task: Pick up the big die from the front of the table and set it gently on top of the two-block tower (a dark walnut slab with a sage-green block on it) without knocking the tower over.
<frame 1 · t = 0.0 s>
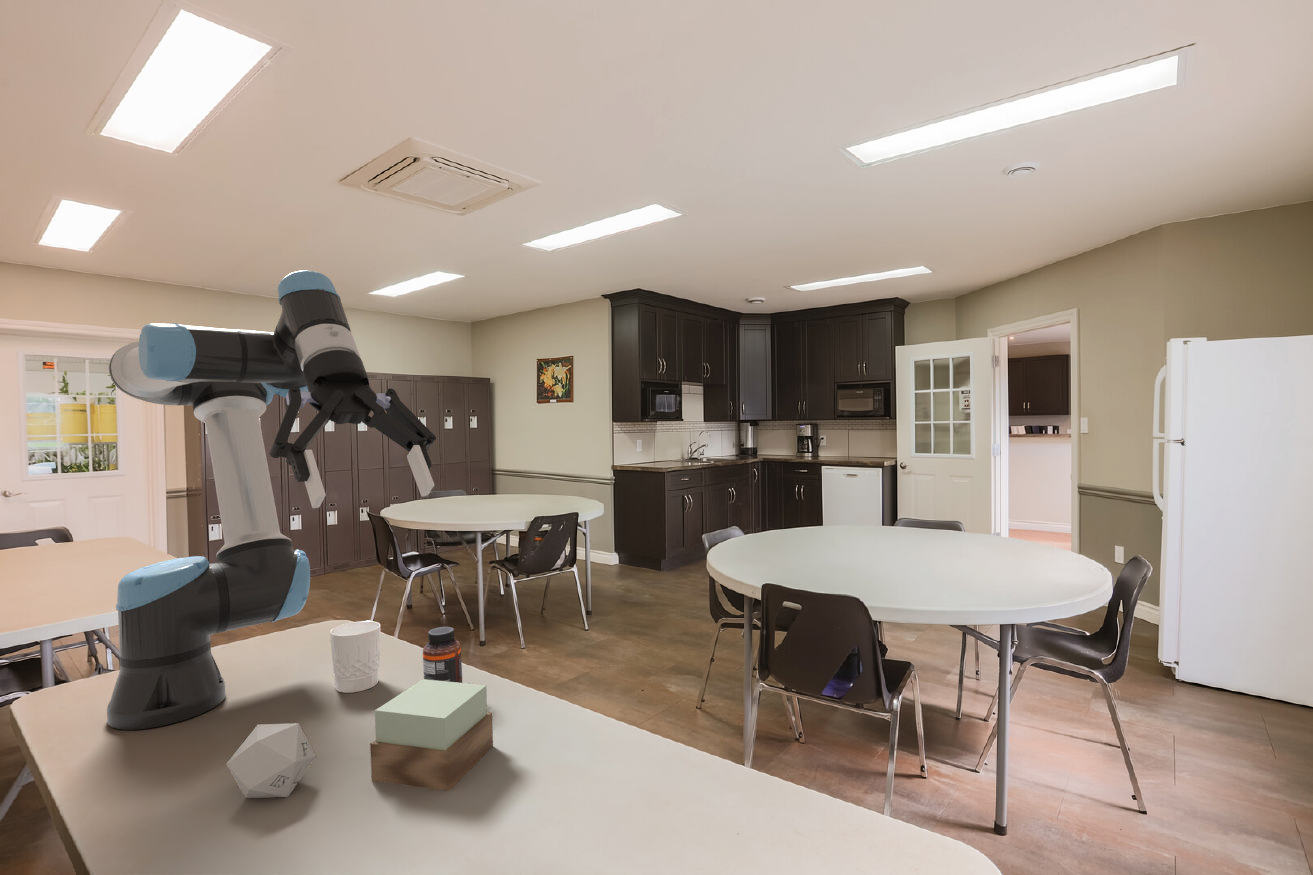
hand: (377, 496, 80), 36 cm above the table, tool tilted 35°, fingers open, 13 cm apart
white cup: (357, 686, 112), on the table
supplement bottle: (443, 699, 105), on the table
sage block: (433, 727, 85), point 5 cm above the table, touching walnut slab
walnut slab: (435, 764, 85), on the table, touching sage block
die: (273, 792, 80), on the table
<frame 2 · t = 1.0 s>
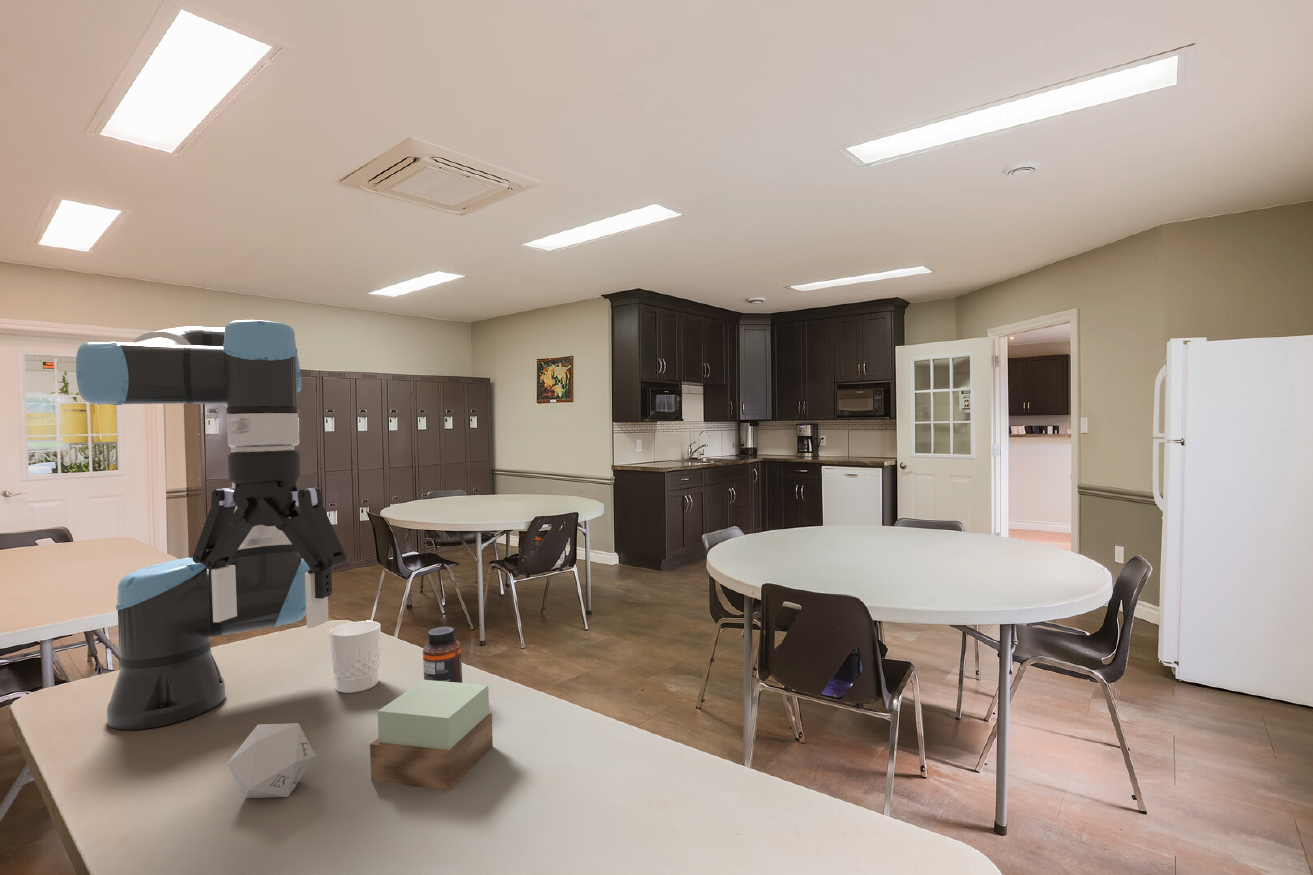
hand: (270, 622, 79), 21 cm above the table, tool pointing down, fingers open, 13 cm apart
nothing on the table moved.
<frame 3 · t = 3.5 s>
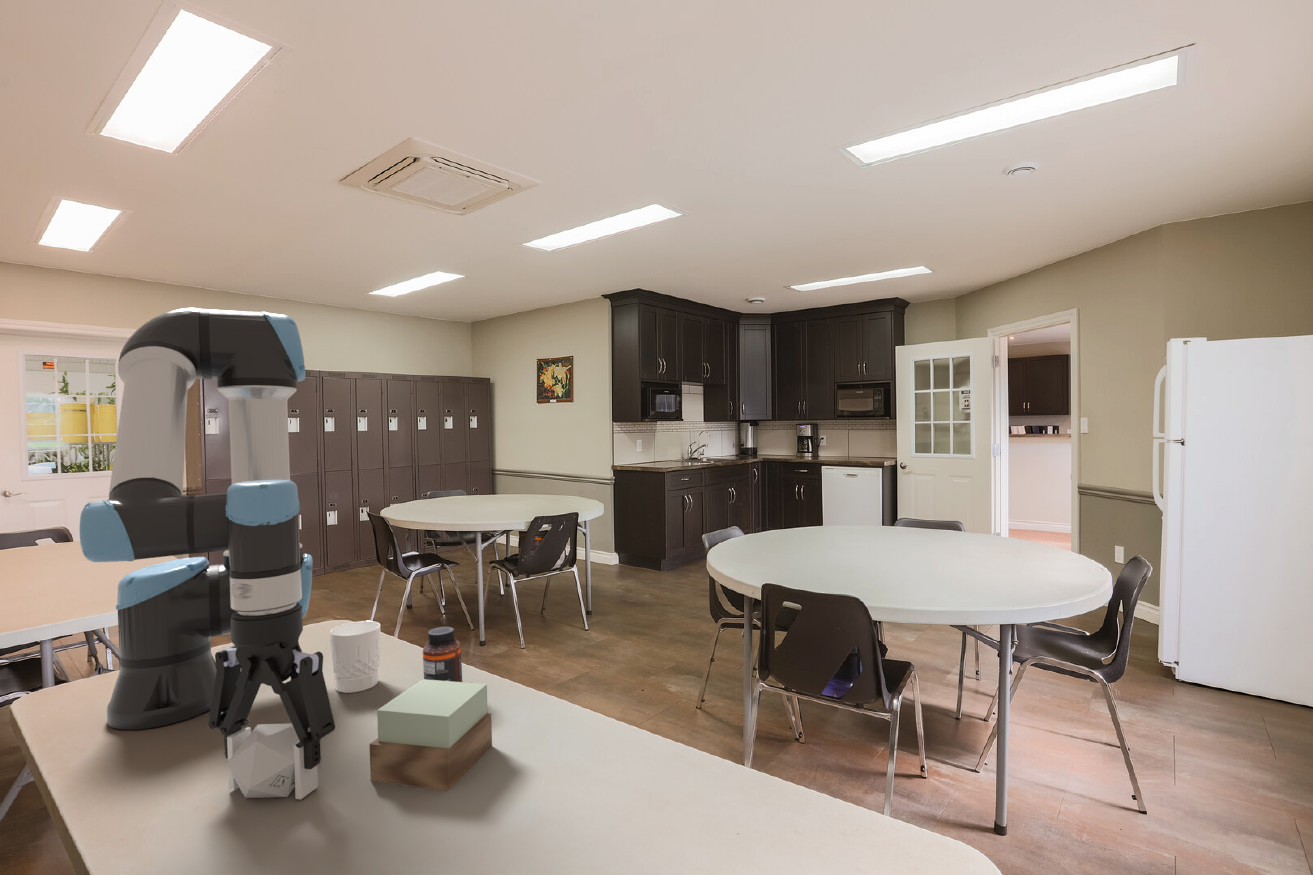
hand: (273, 787, 79), 0 cm above the table, tool pointing down, fingers closed on die, 9 cm apart
sage block: (435, 726, 86), point 5 cm above the table
walnut slab: (434, 765, 85), on the table
die: (273, 792, 79), on the table, touching gripper
everything else where it was.
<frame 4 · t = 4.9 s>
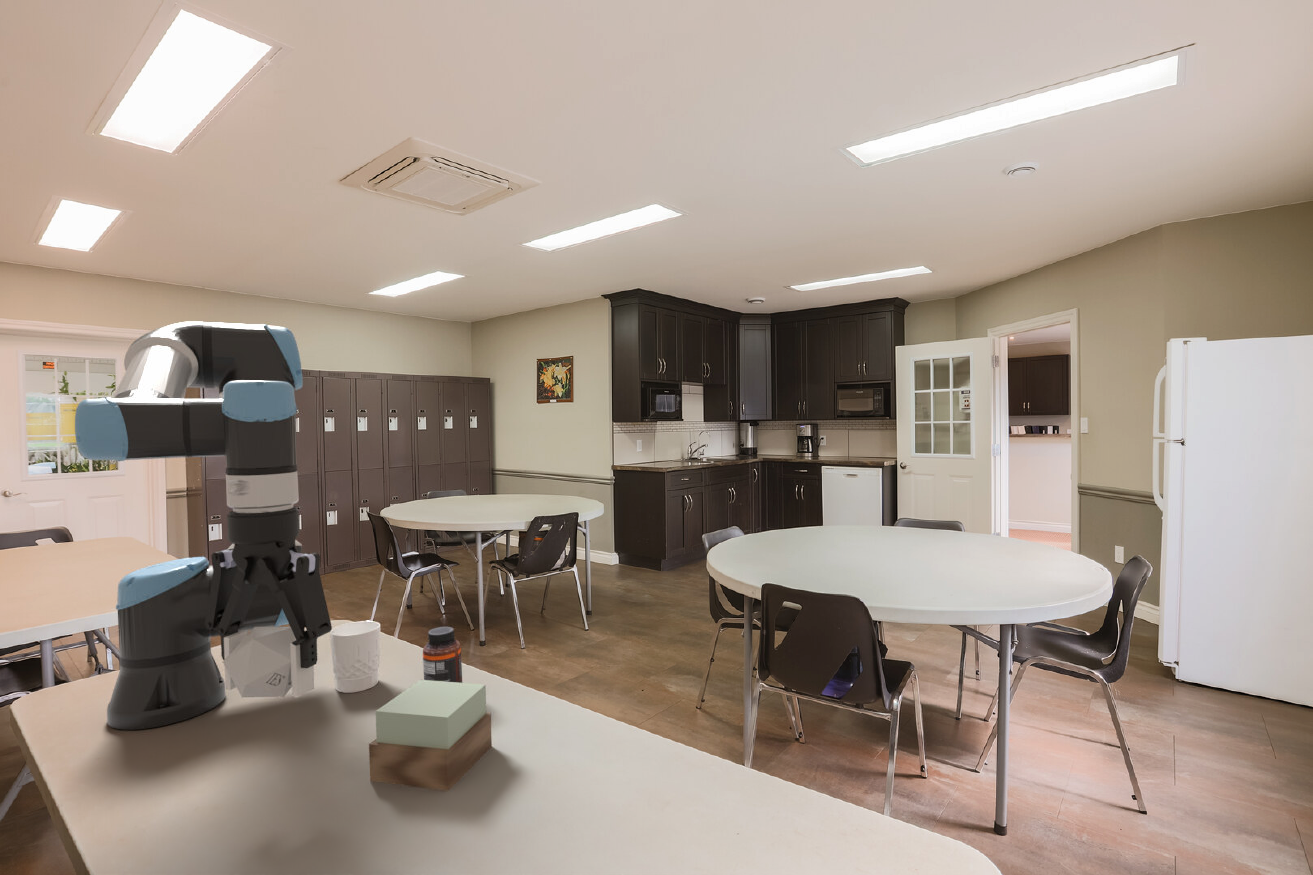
hand: (270, 688, 80), 13 cm above the table, tool pointing down, fingers closed on die, 9 cm apart
sage block: (433, 726, 85), point 5 cm above the table, touching walnut slab
walnut slab: (433, 765, 85), on the table, touching sage block
die: (270, 693, 80), point 12 cm above the table, touching gripper
everything else where it was.
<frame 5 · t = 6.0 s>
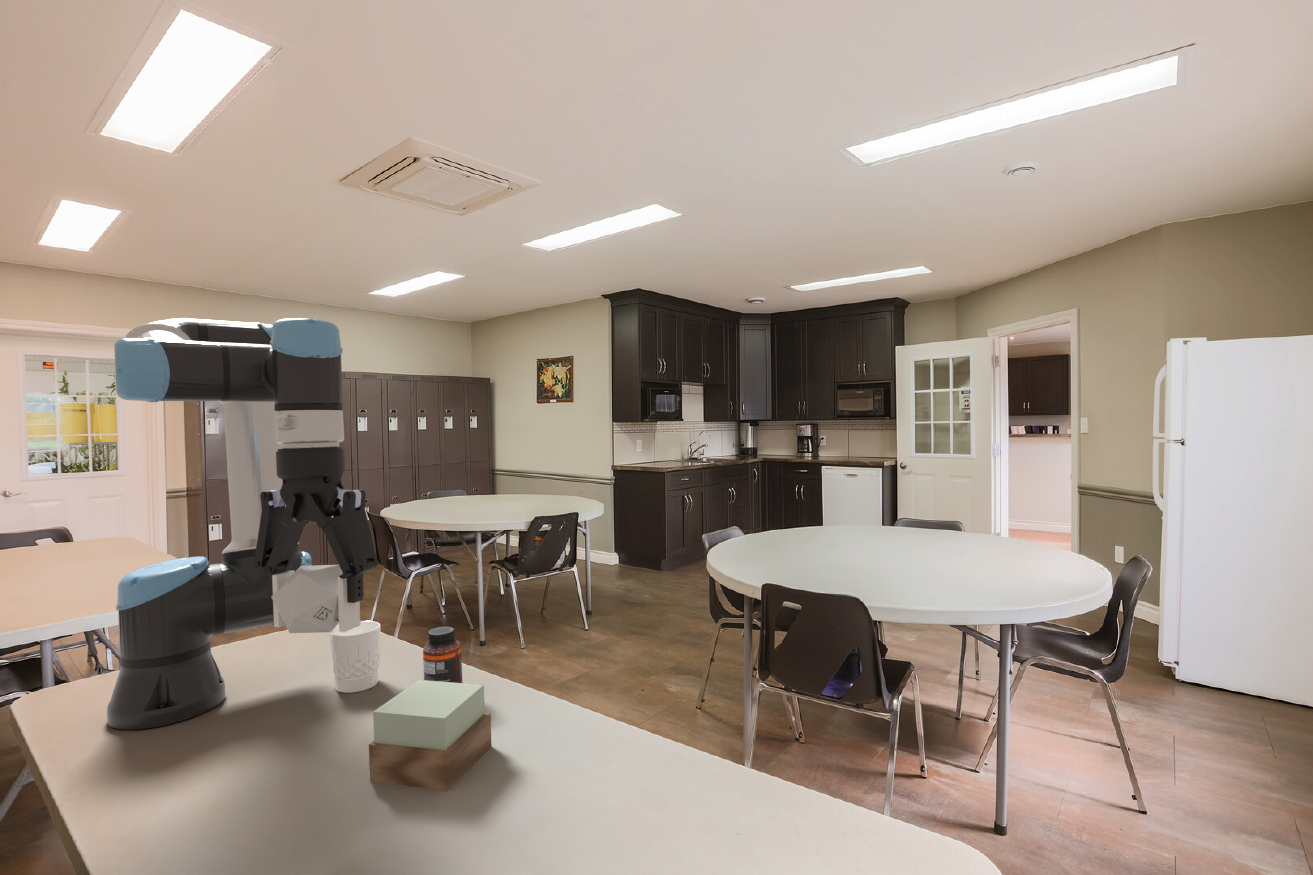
hand: (317, 626, 80), 20 cm above the table, tool pointing down, fingers closed on die, 9 cm apart
die: (316, 630, 80), point 19 cm above the table, touching gripper
everything else where it was.
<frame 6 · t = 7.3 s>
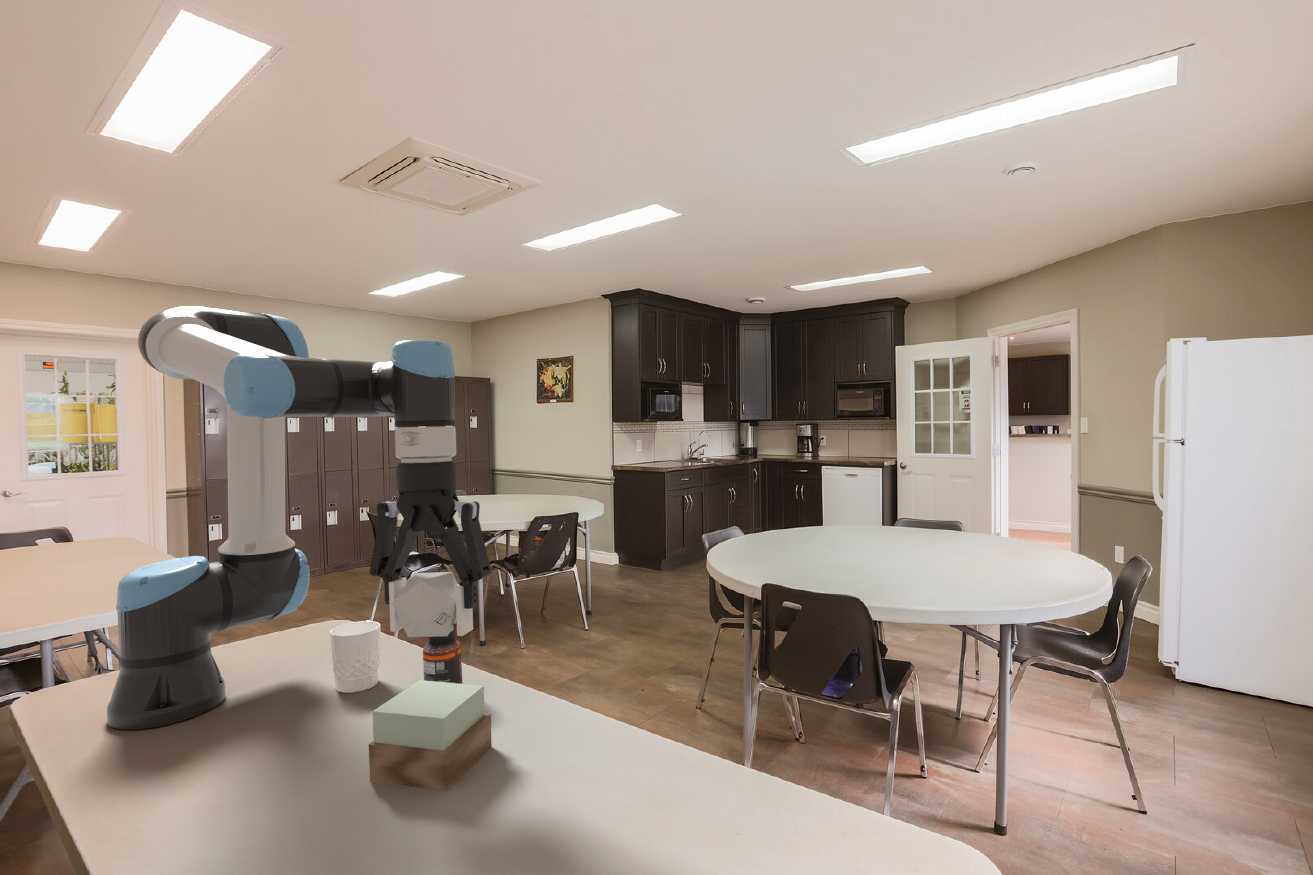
hand: (431, 630, 85), 18 cm above the table, tool pointing down, fingers closed on die, 9 cm apart
die: (431, 634, 85), point 17 cm above the table, touching gripper
everything else where it was.
when the fingers open (11 cm above the table, at t = 8.9 s): die drops 2 cm, resting on sage block.
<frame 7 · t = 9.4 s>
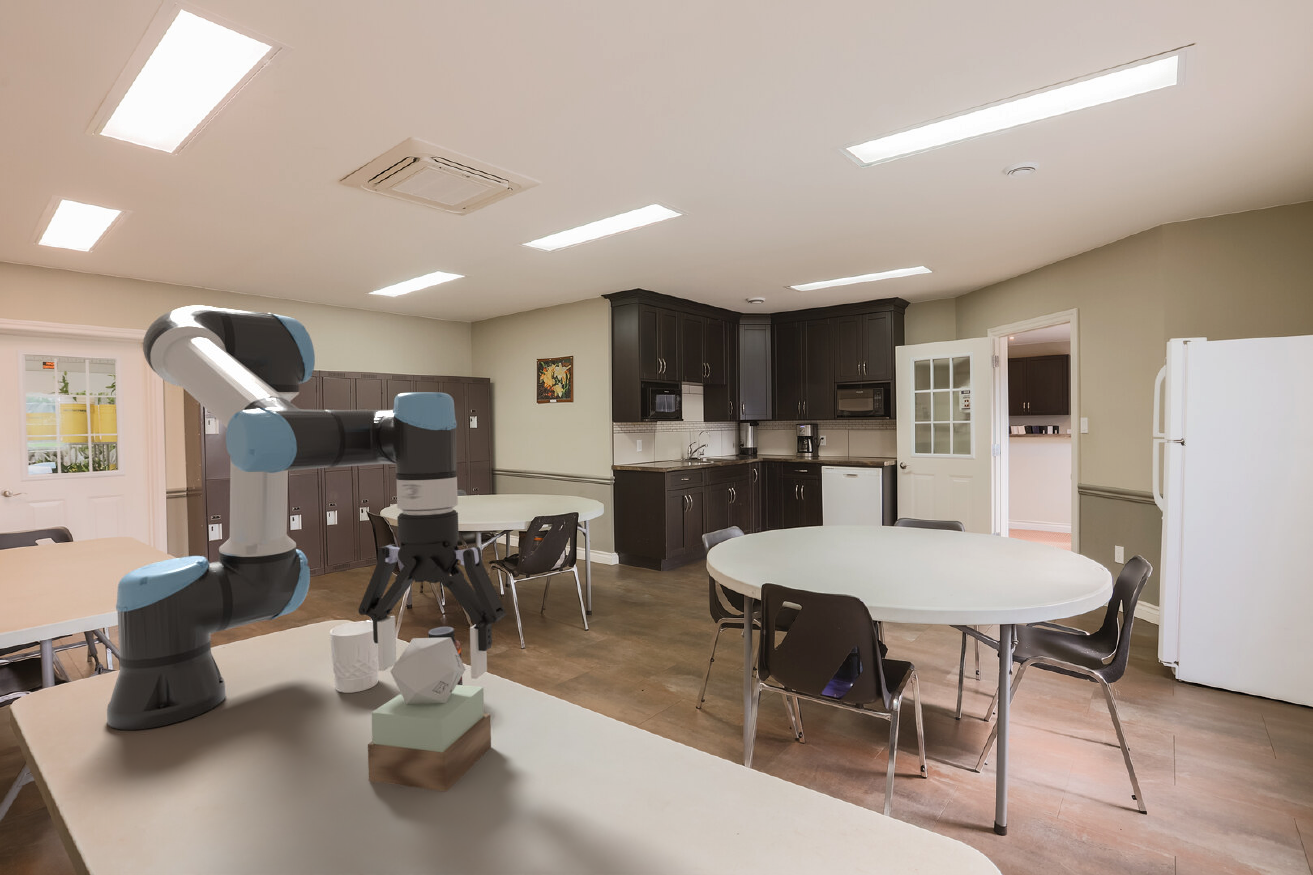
hand: (432, 670, 85), 12 cm above the table, tool pointing down, fingers open, 13 cm apart
sage block: (430, 729, 85), point 5 cm above the table, touching die, walnut slab
die: (429, 700, 85), point 8 cm above the table, touching sage block
everything else where it was.
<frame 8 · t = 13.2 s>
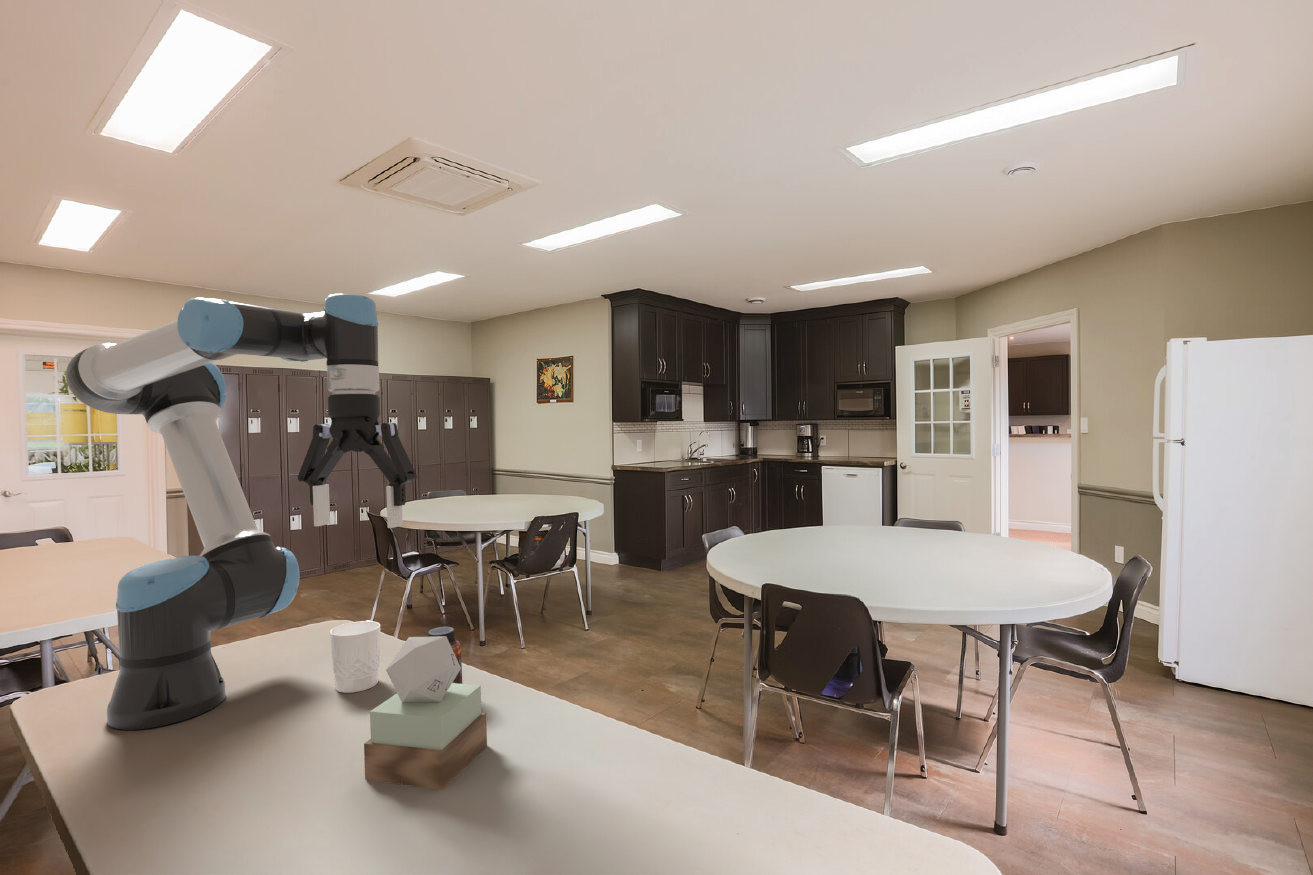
hand: (358, 526, 104), 29 cm above the table, tool pointing down, fingers open, 13 cm apart
die: (425, 699, 86), point 8 cm above the table, touching sage block
everything else where it was.
at the end: die 0.4 cm off-centre on the sage block, point 3.8 cm above the sage block's base; sage block 0.2 cm off-centre on the walnut slab, point 5.0 cm above the walnut slab's base; die tilted 1° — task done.
